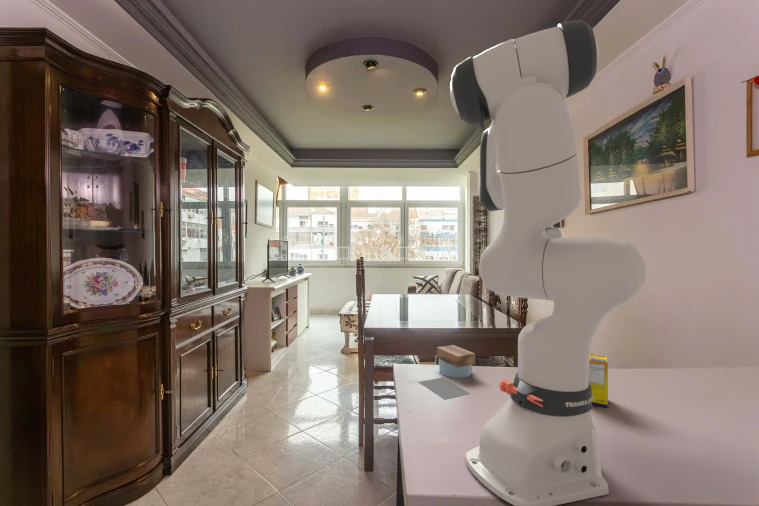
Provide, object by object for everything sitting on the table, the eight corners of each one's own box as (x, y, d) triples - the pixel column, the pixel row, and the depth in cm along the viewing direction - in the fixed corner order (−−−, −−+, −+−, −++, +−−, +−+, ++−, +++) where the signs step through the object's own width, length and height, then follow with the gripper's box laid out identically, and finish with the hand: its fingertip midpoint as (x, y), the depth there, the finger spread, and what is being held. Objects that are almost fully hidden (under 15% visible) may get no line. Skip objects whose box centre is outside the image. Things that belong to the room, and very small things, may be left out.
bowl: (452, 383, 93) (452, 367, 93) (433, 372, 102) (433, 358, 102) (478, 378, 97) (478, 362, 97) (458, 368, 106) (458, 354, 106)
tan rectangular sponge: (457, 367, 94) (457, 356, 94) (436, 357, 103) (436, 347, 103) (475, 364, 96) (475, 353, 96) (453, 354, 105) (453, 344, 105)
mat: (444, 403, 81) (444, 399, 81) (418, 385, 92) (418, 382, 92) (470, 397, 84) (470, 393, 84) (442, 380, 95) (442, 377, 95)
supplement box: (607, 399, 84) (607, 355, 84) (608, 408, 78) (608, 361, 78) (579, 393, 87) (579, 351, 87) (578, 402, 82) (578, 357, 82)
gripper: (514, 220, 89) (514, 272, 89) (566, 222, 98) (566, 270, 98) (496, 221, 95) (496, 271, 95) (547, 224, 103) (547, 269, 103)
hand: (532, 270), depth 96 cm, fingers open, 8 cm apart
